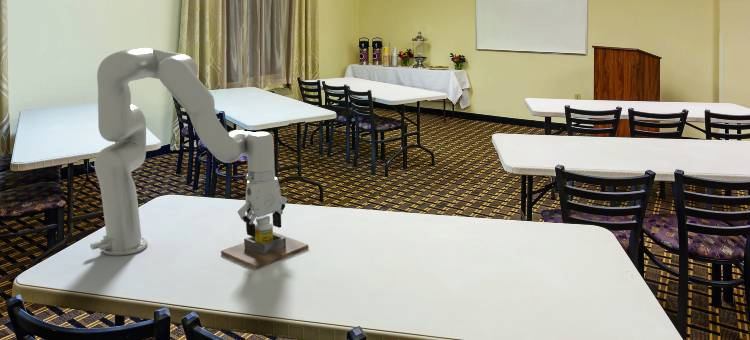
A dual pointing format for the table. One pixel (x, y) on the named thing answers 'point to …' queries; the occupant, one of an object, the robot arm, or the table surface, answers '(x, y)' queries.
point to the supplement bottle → (263, 230)
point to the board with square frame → (264, 251)
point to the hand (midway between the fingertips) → (264, 231)
